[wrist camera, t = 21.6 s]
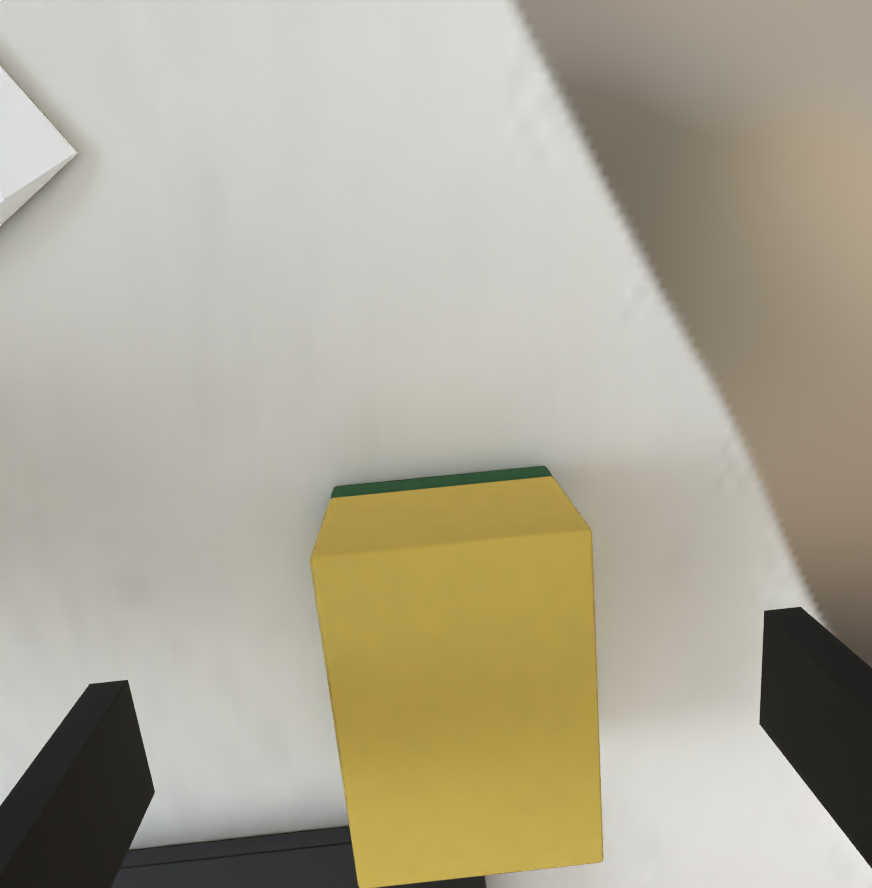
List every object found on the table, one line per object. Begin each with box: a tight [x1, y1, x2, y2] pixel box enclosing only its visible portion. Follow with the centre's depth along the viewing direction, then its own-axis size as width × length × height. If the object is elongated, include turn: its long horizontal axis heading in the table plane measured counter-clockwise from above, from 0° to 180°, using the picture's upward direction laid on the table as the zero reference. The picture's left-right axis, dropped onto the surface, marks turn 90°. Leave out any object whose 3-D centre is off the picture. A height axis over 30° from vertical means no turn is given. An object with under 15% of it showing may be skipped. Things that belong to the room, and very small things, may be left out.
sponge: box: [310, 466, 603, 888], centre depth 16 cm, size 8×6×4 cm
